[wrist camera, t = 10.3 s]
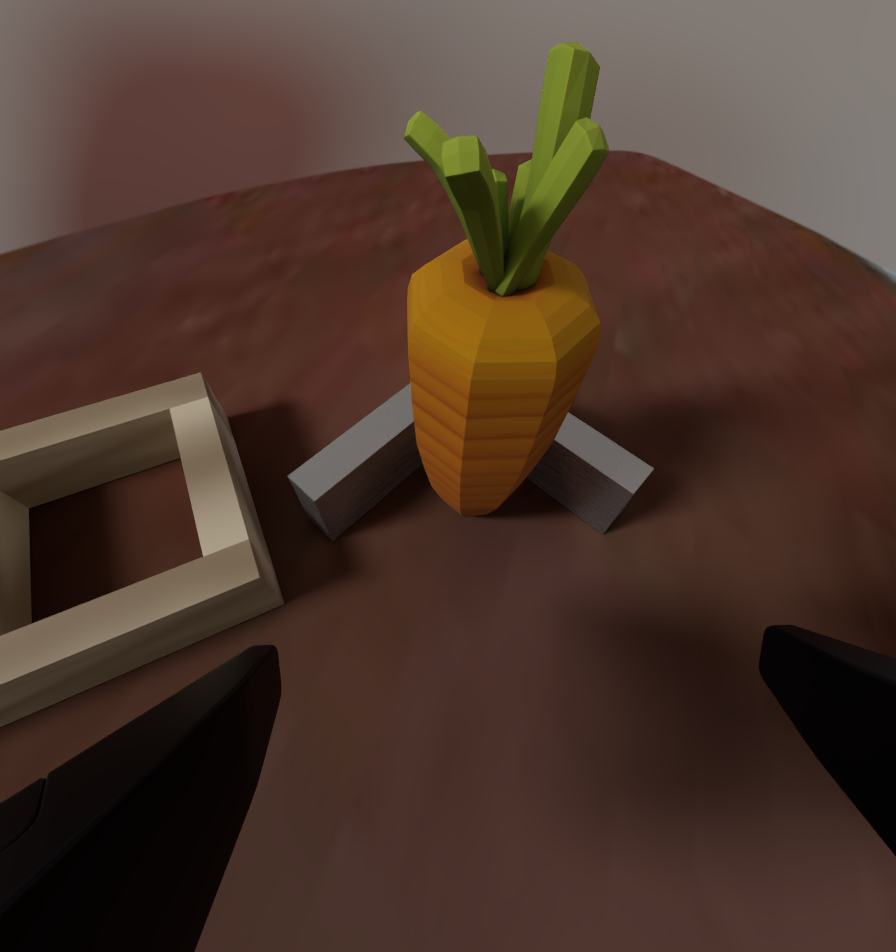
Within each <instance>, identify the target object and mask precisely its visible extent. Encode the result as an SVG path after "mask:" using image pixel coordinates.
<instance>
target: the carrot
mask: <svg viewBox="0 0 896 952" xmlns="http://www.w3.org/2000/svg"><path fill="white" fill-rule="evenodd" d="M599 70H600V66H599V65H598V63H597V62H596V61H595V59H594V57H593V56H592V54H591V53H590V52H589V51H588V50H587V49H585V48H584V47H583V46H581V45H580V44H579V43H578V42H573V43H560V44H559V45H557V46H556V47H554V48H553V49H551V50H550V51H549V55H548V62H547V66H546V72H545V78H544V84H543V90H542V95H541V101H540V107H539V113H538V121H537V128H536V134H535V141H534V148H533V155H532V160H529V161H527V162H525V163H523V164H521V165H519V167H518V172H517V177H516V181H515V186H514V191H513V195H512V200H511V205H510V209H509V215H508V189H507V179H506V176H505V174H504V173H501V172H499V171H497V170H495V169H493V170H492V169H491V166H490V163H489V160H488V157H487V153H486V150H485V148H484V147H483V145H482V143H481V142H480V140H479V139H478V137H477V136H457V137H455V138H453V139H450V138H449V137H448V136H447V135H446V133H445V132H444V131H443V130H442V129H441V128H440V127H439V126H438V125H437V124H436V123H435V122H434V121H432V120H431V119H430V118H429V117H428V116H426V115H425V114H424V113H423V112H420V111H418V112H417V113H416V114H415V115H414V116H413V117H412V118H411V119H410V120H409V121H408V125H407V129H406V133H405V137H404V139H405V140H406V141H407V142H408V143H409V145H411V146H412V148H413V149H414V150H415V151H416V152H417V153H418V154H419V155H420V156H421V157H422V158H423V159H424V160H425V161H426V162H427V164H428V165H429V166H430V167H431V168H432V169H433V170H434V172H435V174H436V175H437V177H438V179H439V181H440V182H441V184H442V186H443V188H444V189H445V191H446V193H447V195H448V197H449V198H450V200H451V202H452V204H453V206H454V208H455V210H456V212H457V214H458V216H459V218H460V221H461V223H462V226H463V228H464V231H465V233H466V236H467V238H468V239H466V240H464V241H463V242H461V243H460V244H458V245H456V246H455V247H453V248H451V249H450V250H448V251H447V252H445V253H443V254H442V255H440V256H439V257H437V258H435V259H434V260H432V261H430V262H429V263H427V264H426V265H424V266H423V267H422V268H420V269H419V270H418V271H416V272H415V273H414V274H412V277H411V280H410V283H409V287H408V297H407V315H408V356H409V370H410V384H411V397H412V408H413V417H414V425H415V434H416V442H417V446H418V450H419V453H420V456H421V459H422V462H423V466H424V469H425V471H426V474H427V476H428V479H429V481H430V484H431V486H432V488H433V489H434V490H435V491H436V493H437V494H438V495H439V496H440V497H441V499H442V500H443V501H445V502H446V503H447V504H448V505H450V506H451V507H452V508H453V509H455V510H456V511H457V512H458V513H460V514H461V515H462V516H464V517H469V516H480V515H486V514H489V513H490V512H492V511H494V510H495V509H497V508H498V507H499V506H500V505H501V504H502V503H503V502H504V501H505V500H506V499H507V498H508V497H509V496H510V495H511V494H512V493H513V492H514V491H515V489H516V488H517V487H518V486H519V485H520V484H521V483H522V482H523V481H524V479H525V478H526V477H527V476H528V474H529V473H530V472H531V471H532V470H533V468H534V467H535V466H536V465H537V463H538V462H539V461H540V459H541V458H542V456H543V455H544V454H545V452H546V451H547V449H548V448H549V447H550V445H551V444H552V442H553V441H554V439H555V437H556V435H557V433H558V431H559V429H560V427H561V425H562V423H563V421H564V419H565V417H566V415H567V413H568V411H569V409H570V407H571V405H572V403H573V401H574V399H575V397H576V395H577V392H578V390H579V388H580V386H581V383H582V381H583V379H584V377H585V375H586V372H587V370H588V368H589V366H590V363H591V361H592V359H593V357H594V354H595V352H596V350H597V346H598V342H599V339H600V320H599V317H598V314H597V312H596V309H595V306H594V303H593V300H592V297H591V294H590V291H589V289H588V286H587V283H586V280H585V277H584V275H583V273H582V272H581V271H580V269H579V268H578V267H577V265H575V264H573V263H571V262H569V261H567V260H565V259H563V258H561V257H559V256H557V255H556V254H554V253H552V252H550V251H548V247H549V245H550V242H551V240H552V237H553V235H554V234H555V232H556V231H557V230H558V228H559V227H560V226H561V224H562V223H563V222H564V220H565V219H566V217H567V216H568V215H569V213H570V212H571V210H572V209H573V207H574V206H575V205H576V203H577V202H578V200H579V199H580V197H581V196H582V195H583V193H584V192H585V190H586V189H587V187H588V186H589V184H590V183H591V181H592V180H593V178H594V176H595V175H596V173H597V171H598V170H599V168H600V167H601V165H602V163H603V162H604V160H605V158H606V157H607V155H608V154H609V152H610V151H609V148H608V145H607V142H606V139H605V135H604V133H603V131H602V129H601V127H600V126H599V125H598V124H596V123H595V122H593V121H592V120H590V116H591V111H592V106H593V101H594V96H595V90H596V85H597V80H598V75H599Z"/></svg>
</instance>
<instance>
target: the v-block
mask: <svg viewBox="0 0 896 952" xmlns="http://www.w3.org/2000/svg"><path fill="white" fill-rule="evenodd" d="M422 464H423V462H422V459H421V456H420V453H419V450H418V446H417V442H416V434H415V425H414V417H413V408H412V397H411V384H409V385H407V386H406V387H405V388H403V389H402V390H401V391H399V392H398V393H397V394H395V395H394V396H393V397H391V398H390V399H389V400H387V401H386V402H385V403H383V404H382V405H381V406H379V407H378V408H377V409H376V410H374V411H373V412H372V413H370V414H369V415H368V416H366V417H365V418H364V419H362V420H361V421H360V422H358V423H357V424H356V425H354V426H353V427H352V428H350V429H349V430H348V431H346V432H345V433H344V434H342V435H341V436H340V437H338V438H337V439H336V440H335V441H333V442H332V443H331V444H329V445H328V446H327V447H325V448H324V449H323V450H321V451H320V452H319V453H317V454H316V455H315V456H313V457H312V458H311V459H309V460H308V461H307V462H305V463H304V464H303V465H301V466H300V467H299V468H297V469H296V470H295V471H294V472H292V473H291V474H290V475H288V478H289V480H290V482H291V484H292V486H293V488H294V490H295V492H296V494H297V496H298V498H299V500H300V502H301V504H302V506H303V508H304V510H305V512H306V514H307V516H308V518H309V520H310V521H311V522H312V523H313V524H314V525H316V526H317V527H318V528H319V529H320V530H321V531H322V532H323V533H324V534H325V535H326V536H327V537H328V538H329V539H330V540H331V541H332V542H333V541H334V540H336V539H337V538H338V537H339V536H340V535H341V534H342V533H344V532H345V531H346V530H347V529H348V528H349V527H350V526H352V525H353V524H354V523H355V522H356V521H357V520H359V519H360V518H361V517H362V516H363V515H364V514H365V513H367V512H368V511H369V510H370V509H371V508H372V507H374V506H375V505H376V504H377V503H378V502H379V501H380V500H382V499H383V498H384V497H385V496H386V495H387V494H388V493H390V492H391V491H392V490H393V489H394V488H395V487H397V486H398V485H399V484H400V483H401V482H402V481H403V480H405V479H406V478H407V477H408V476H409V475H410V474H412V473H413V472H414V471H415V470H416V469H417V468H418V467H420V466H421V465H422ZM653 469H654V468H652V467H651V466H649V465H648V464H646V463H645V462H643V461H642V460H640V459H639V458H637V457H636V456H634V455H633V454H631V453H630V452H628V451H627V450H625V449H624V448H622V447H621V446H619V445H617V444H616V443H614V442H613V441H611V440H610V439H608V438H607V437H605V436H604V435H602V434H601V433H599V432H598V431H596V430H595V429H593V428H592V427H590V426H589V425H587V424H585V423H584V422H582V421H581V420H579V419H578V418H576V417H575V416H573V415H572V414H570V413H569V412H568V413H567V415H566V417H565V419H564V421H563V423H562V425H561V427H560V429H559V431H558V433H557V435H556V437H555V439H554V441H553V442H552V444H551V445H550V447H549V448H548V449H547V451H546V452H545V454H544V455H543V456H542V458H541V459H540V461H539V462H538V463H537V465H536V466H535V467H534V468H533V470H532V471H531V472H530V473H529V474H528V476H527V477H526V478H527V479H528V480H530V481H531V482H532V483H534V484H535V485H536V486H538V487H539V488H541V489H542V490H543V491H545V492H546V493H547V494H549V495H550V496H551V497H553V498H554V499H555V500H557V501H558V502H559V503H561V504H562V505H563V506H565V507H566V508H567V509H569V510H570V511H572V512H573V513H574V514H576V515H577V516H578V517H580V518H581V519H582V520H584V521H585V522H586V523H588V524H589V525H590V526H592V527H593V528H594V529H596V530H597V531H598V532H600V533H601V534H602V535H603V534H604V533H605V531H606V530H607V529H608V528H609V526H610V525H611V524H612V523H613V521H614V520H615V519H616V518H617V516H618V515H619V514H620V513H621V512H622V510H623V509H624V508H625V506H626V505H627V504H628V502H629V501H630V500H631V498H632V497H633V496H634V494H635V493H636V492H637V490H638V489H639V488H640V486H641V485H642V484H643V483H644V481H645V480H646V479H647V477H648V476H649V475H650V473H651V472H652V471H653Z"/></svg>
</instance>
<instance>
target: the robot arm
mask: <svg viewBox="0 0 896 952" xmlns="http://www.w3.org/2000/svg"><path fill="white" fill-rule="evenodd" d="M759 670H760V674H761V676H762V678H763V680H764V682H765V683H766V685H767V686H768V688H769V689H770V690H771V692H772V693H773V695H774V696H775V698H776V699H777V701H778V702H779V704H780V705H781V707H782V708H783V710H784V711H785V712H786V714H787V715H788V717H789V718H790V720H791V721H792V723H793V724H794V726H795V727H796V729H797V730H798V731H799V733H800V734H801V736H802V737H803V739H804V740H805V742H806V743H807V745H808V746H809V747H810V749H811V750H812V752H813V753H814V754H815V756H816V757H817V759H818V760H819V761H820V763H821V764H822V765H823V766H824V768H825V769H826V770H827V772H828V773H829V774H830V775H831V777H832V778H833V779H834V780H835V782H836V783H837V784H838V785H839V787H840V788H841V789H842V790H843V791H844V793H845V794H846V795H847V796H848V798H849V799H850V800H851V801H852V803H853V804H854V805H855V806H856V808H857V809H858V810H859V811H860V813H861V814H862V815H863V816H864V818H865V819H866V820H867V821H868V823H869V824H870V825H871V826H872V828H873V829H874V830H875V831H876V833H877V834H878V835H879V836H880V837H881V839H882V840H883V841H884V842H885V844H886V845H887V846H888V847H889V849H890V850H891V851H892V852H893V854H894V855H895V856H896V659H894V658H891V657H888V656H885V655H882V654H879V653H876V652H873V651H870V650H866V649H863V648H860V647H857V646H854V645H851V644H848V643H845V642H842V641H839V640H836V639H833V638H830V637H827V636H824V635H821V634H818V633H815V632H812V631H809V630H806V629H803V628H800V627H797V626H793V625H772V626H769V627H767V628H766V630H765V631H764V635H763V641H762V648H761V654H760V660H759ZM280 698H281V677H280V667H279V658H278V651H277V648H276V647H275V646H274V645H254V646H250V647H249V648H247V649H246V650H244V651H242V652H241V653H239V654H238V655H236V656H234V657H233V658H231V659H230V660H228V661H226V662H225V663H223V664H222V665H220V666H218V667H217V668H215V669H214V670H212V671H210V672H209V673H207V674H206V675H204V676H202V677H201V678H199V679H198V680H196V681H194V682H193V683H191V684H190V685H188V686H186V687H185V688H183V689H182V690H180V691H178V692H177V693H175V694H174V695H172V696H171V697H169V698H167V699H166V700H164V701H163V702H161V703H159V704H158V705H156V706H155V707H153V708H151V709H150V710H148V711H147V712H145V713H143V714H142V715H140V716H139V717H137V718H135V719H134V720H132V721H131V722H129V723H127V724H126V725H124V726H123V727H121V728H119V729H118V730H116V731H115V732H113V733H111V734H110V735H108V736H107V737H105V738H103V739H102V740H100V741H99V742H97V743H95V744H94V745H92V746H91V747H89V748H88V749H86V750H84V751H83V752H81V753H80V754H78V755H76V756H75V757H73V758H72V759H70V760H68V761H67V762H65V763H64V764H62V765H60V766H59V767H57V768H56V769H54V770H52V771H51V772H49V773H48V774H47V776H46V779H45V778H39V779H38V780H36V781H35V782H33V783H31V784H30V785H28V786H27V787H25V788H24V789H22V790H20V791H19V792H17V793H16V794H14V795H12V796H11V797H9V798H8V799H6V800H4V801H3V802H1V803H0V952H194V951H195V949H196V946H197V944H198V941H199V938H200V936H201V933H202V930H203V928H204V925H205V923H206V920H207V917H208V915H209V912H210V909H211V907H212V904H213V902H214V899H215V896H216V894H217V891H218V888H219V886H220V883H221V881H222V878H223V875H224V873H225V870H226V867H227V865H228V862H229V860H230V857H231V854H232V852H233V849H234V846H235V844H236V841H237V839H238V836H239V833H240V831H241V828H242V825H243V823H244V820H245V818H246V815H247V812H248V810H249V807H250V804H251V802H252V799H253V796H254V793H255V790H256V787H257V784H258V781H259V777H260V774H261V770H262V766H263V763H264V759H265V755H266V751H267V747H268V744H269V740H270V736H271V732H272V729H273V725H274V721H275V717H276V714H277V710H278V706H279V702H280Z"/></svg>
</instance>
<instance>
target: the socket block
mask: <svg viewBox="0 0 896 952" xmlns="http://www.w3.org/2000/svg"><path fill="white" fill-rule="evenodd" d="M179 458H181V461H182V465H183V470H184V474H185V478H186V483H187V487H188V492H189V496H190V500H191V505H192V509H193V513H194V518H195V522H196V527H197V531H198V535H199V540H200V544H201V548H202V553H203V557H201V558H199V559H196V560H194V561H191V562H189V563H186V564H183V565H181V566H178V567H176V568H173V569H171V570H168V571H166V572H163V573H160V574H158V575H155V576H153V577H150V578H148V579H145V580H142V581H140V582H137V583H135V584H132V585H130V586H127V587H125V588H122V589H119V590H117V591H114V592H112V593H109V594H107V595H104V596H101V597H99V598H96V599H94V600H91V601H89V602H86V603H83V604H81V605H78V606H76V607H73V608H71V609H68V610H66V611H63V612H60V613H58V614H55V615H53V616H50V617H48V618H45V619H42V620H40V621H37V622H35V623H32V613H31V575H30V537H29V508H32V507H35V506H38V505H41V504H44V503H47V502H50V501H53V500H56V499H59V498H62V497H65V496H68V495H71V494H74V493H77V492H80V491H83V490H86V489H89V488H92V487H95V486H98V485H101V484H104V483H107V482H110V481H113V480H116V479H119V478H122V477H125V476H128V475H131V474H134V473H137V472H140V471H143V470H146V469H149V468H152V467H155V466H158V465H161V464H164V463H167V462H170V461H173V460H176V459H179ZM283 604H284V601H283V597H282V594H281V591H280V588H279V584H278V581H277V578H276V574H275V571H274V568H273V565H272V561H271V558H270V555H269V552H268V548H267V545H266V542H265V539H264V535H263V532H262V529H261V525H260V522H259V519H258V516H257V512H256V509H255V506H254V503H253V499H252V496H251V493H250V489H249V486H248V483H247V480H246V476H245V473H244V470H243V467H242V463H241V460H240V457H239V454H238V450H237V447H236V444H235V440H234V437H233V434H232V431H231V427H230V424H229V421H228V418H227V416H226V414H225V412H224V411H223V409H222V407H221V405H220V404H219V402H218V400H217V399H216V397H215V395H214V394H213V392H212V390H211V389H210V387H209V385H208V384H207V382H206V380H205V378H204V377H203V375H202V373H197V374H194V375H190V376H187V377H184V378H180V379H177V380H173V381H170V382H166V383H163V384H160V385H156V386H153V387H149V388H146V389H142V390H139V391H136V392H132V393H129V394H125V395H122V396H118V397H115V398H112V399H108V400H105V401H101V402H98V403H95V404H91V405H88V406H84V407H81V408H77V409H74V410H71V411H67V412H64V413H60V414H57V415H53V416H50V417H47V418H43V419H40V420H36V421H33V422H30V423H26V424H23V425H19V426H16V427H12V428H9V429H6V430H2V431H0V727H2V726H4V725H7V724H9V723H11V722H14V721H16V720H18V719H20V718H23V717H25V716H27V715H30V714H32V713H34V712H37V711H39V710H41V709H44V708H46V707H48V706H50V705H53V704H55V703H57V702H60V701H62V700H64V699H67V698H69V697H71V696H73V695H76V694H78V693H80V692H83V691H85V690H87V689H90V688H92V687H94V686H97V685H99V684H101V683H103V682H106V681H108V680H110V679H113V678H115V677H117V676H120V675H122V674H124V673H127V672H129V671H131V670H133V669H136V668H138V667H140V666H143V665H145V664H147V663H150V662H152V661H154V660H157V659H159V658H161V657H163V656H166V655H168V654H170V653H173V652H175V651H177V650H180V649H182V648H184V647H187V646H189V645H191V644H193V643H196V642H198V641H200V640H203V639H205V638H207V637H210V636H212V635H214V634H217V633H219V632H221V631H223V630H226V629H228V628H230V627H233V626H235V625H237V624H240V623H242V622H244V621H246V620H249V619H251V618H253V617H256V616H258V615H260V614H263V613H265V612H267V611H270V610H272V609H274V608H276V607H279V606H281V605H283Z"/></svg>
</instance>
